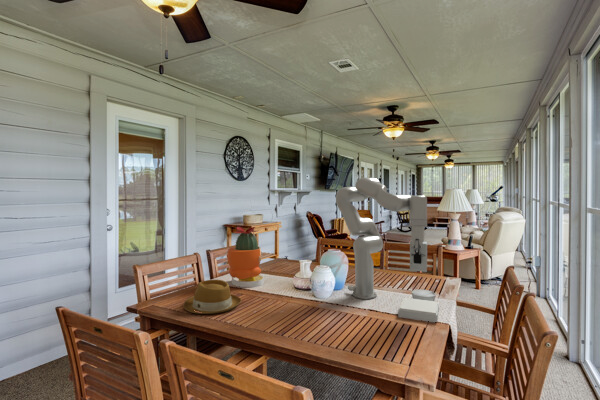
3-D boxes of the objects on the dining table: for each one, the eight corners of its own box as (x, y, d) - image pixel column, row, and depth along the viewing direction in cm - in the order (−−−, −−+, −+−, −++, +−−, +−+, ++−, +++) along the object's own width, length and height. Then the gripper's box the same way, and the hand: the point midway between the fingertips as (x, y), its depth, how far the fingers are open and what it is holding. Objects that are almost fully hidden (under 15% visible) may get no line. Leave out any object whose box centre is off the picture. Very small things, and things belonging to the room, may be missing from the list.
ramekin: (437, 308, 159) (437, 297, 159) (413, 306, 161) (413, 295, 161) (433, 300, 170) (433, 289, 170) (410, 298, 172) (410, 288, 172)
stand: (398, 317, 148) (398, 308, 148) (403, 305, 163) (403, 297, 163) (437, 322, 142) (437, 313, 141) (438, 309, 156) (438, 301, 156)
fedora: (214, 293, 186) (213, 272, 186) (252, 303, 169) (251, 280, 169) (171, 308, 164) (171, 284, 164) (210, 321, 148) (210, 295, 147)
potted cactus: (244, 277, 218) (243, 223, 217) (270, 282, 205) (269, 225, 204) (219, 285, 201) (217, 227, 199) (245, 291, 188) (244, 229, 186)
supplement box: (409, 271, 149) (409, 243, 149) (410, 267, 156) (410, 240, 156) (427, 272, 147) (426, 243, 146) (427, 268, 154) (427, 241, 153)
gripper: (411, 220, 160) (412, 257, 161) (407, 224, 144) (407, 265, 145) (428, 221, 157) (428, 258, 158) (425, 225, 141) (425, 266, 142)
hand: (418, 261), depth 151 cm, fingers closed on supplement box, 7 cm apart
